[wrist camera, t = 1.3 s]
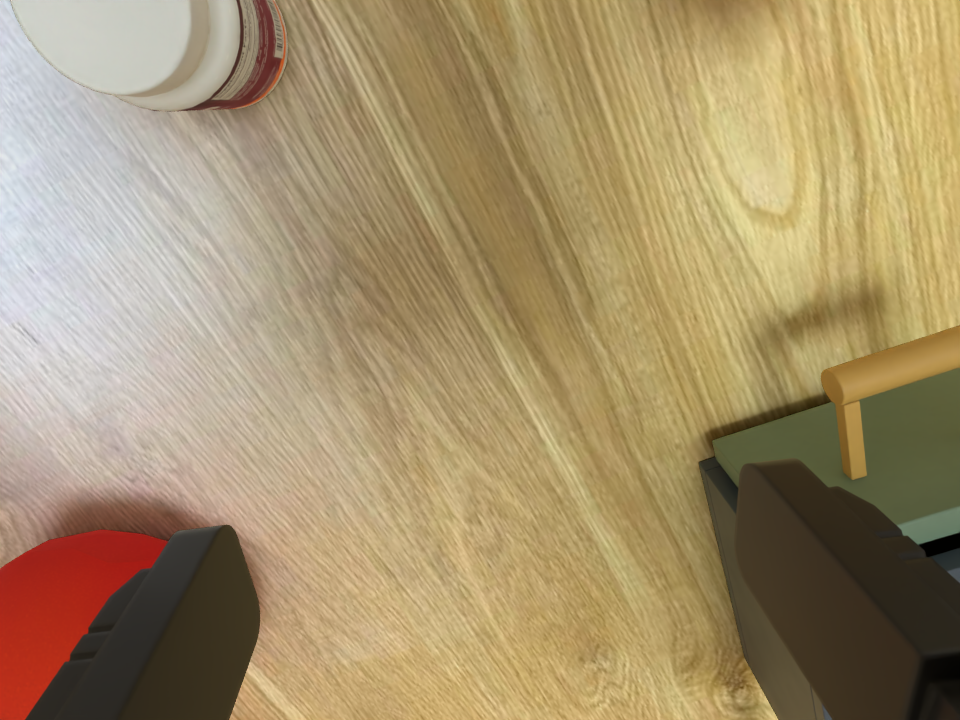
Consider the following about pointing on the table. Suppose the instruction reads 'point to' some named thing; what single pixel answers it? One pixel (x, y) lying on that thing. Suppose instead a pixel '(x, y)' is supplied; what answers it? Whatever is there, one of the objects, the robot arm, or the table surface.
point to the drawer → (879, 437)
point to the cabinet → (760, 642)
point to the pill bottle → (163, 48)
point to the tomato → (59, 605)
